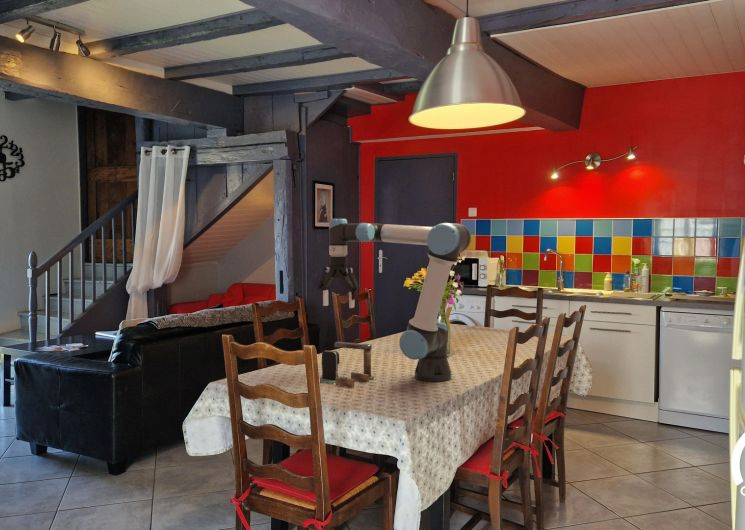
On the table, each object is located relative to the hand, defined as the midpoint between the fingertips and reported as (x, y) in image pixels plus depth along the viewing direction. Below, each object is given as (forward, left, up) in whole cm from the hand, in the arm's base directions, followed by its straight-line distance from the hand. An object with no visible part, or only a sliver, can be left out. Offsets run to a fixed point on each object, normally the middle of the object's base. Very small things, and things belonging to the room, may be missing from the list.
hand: (338, 306), depth 267 cm
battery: (-3, +10, -28) cm, 30 cm away
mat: (-3, +10, -29) cm, 31 cm away
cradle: (-14, +6, -29) cm, 33 cm away
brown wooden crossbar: (-7, 0, -17) cm, 18 cm away
